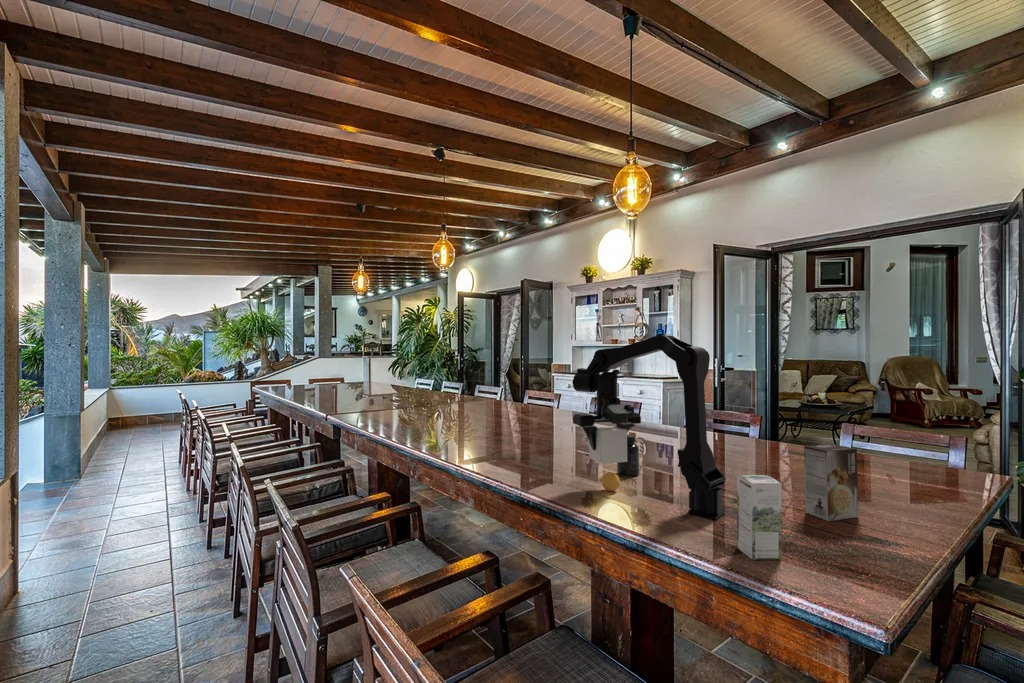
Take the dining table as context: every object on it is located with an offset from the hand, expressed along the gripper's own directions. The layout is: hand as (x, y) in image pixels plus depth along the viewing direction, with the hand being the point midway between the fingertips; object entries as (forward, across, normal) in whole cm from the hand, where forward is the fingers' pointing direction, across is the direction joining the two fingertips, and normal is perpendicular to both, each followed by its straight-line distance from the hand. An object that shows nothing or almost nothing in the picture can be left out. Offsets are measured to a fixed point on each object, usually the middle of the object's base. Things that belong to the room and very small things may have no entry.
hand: (607, 449), depth 135 cm
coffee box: (+11, +40, -35) cm, 54 cm away
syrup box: (+11, +7, -47) cm, 49 cm away
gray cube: (+3, 0, 0) cm, 3 cm away
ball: (+8, 0, -2) cm, 9 cm away
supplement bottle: (+11, +14, +12) cm, 22 cm away
